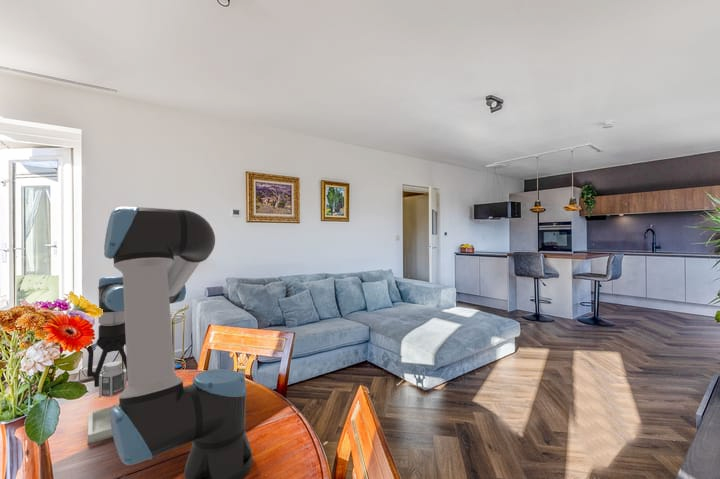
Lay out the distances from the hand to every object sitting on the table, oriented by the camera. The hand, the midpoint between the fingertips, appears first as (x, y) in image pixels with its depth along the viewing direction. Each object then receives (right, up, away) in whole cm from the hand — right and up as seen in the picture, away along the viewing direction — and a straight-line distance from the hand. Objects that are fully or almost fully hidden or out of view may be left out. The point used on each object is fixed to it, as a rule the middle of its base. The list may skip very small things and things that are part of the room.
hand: (112, 392), depth 107 cm
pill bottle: (0, -1, 0) cm, 1 cm away
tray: (+10, -4, -10) cm, 15 cm away
